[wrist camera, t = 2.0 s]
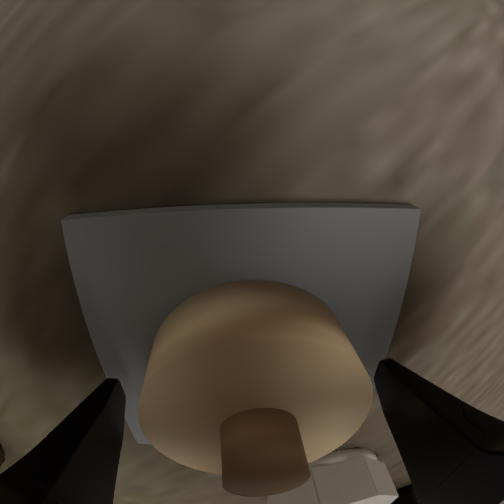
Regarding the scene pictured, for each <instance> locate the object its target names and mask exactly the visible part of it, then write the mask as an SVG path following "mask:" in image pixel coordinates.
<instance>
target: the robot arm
mask: <svg viewBox="0 0 504 504" xmlns="http://www.w3.org/2000/svg"><path fill="white" fill-rule="evenodd" d="M374 383H375V386H376V389H377V393H378V396H379V399H380V403H381V406H382V410H383V413H384V416H385V418H386V421H387V423H388V425H389V428H390V430H391V433H392V435H393V437H394V440H395V442H396V445H397V447H398V450H399V452H400V455H401V457H402V460H403V462H404V465H405V467H406V470H407V472H408V475H409V477H410V480H411V483H412V486H410V487H407V488H405V489H402V490H400V491H397V493H398V495H399V496H398V497H397V498H396V499H395V500H394V501H393V502H392V503H391V504H504V421H501V420H499V419H497V418H495V417H492V416H490V415H488V414H486V413H484V412H482V411H480V410H478V409H476V408H474V407H472V406H470V405H469V404H467V403H465V402H463V401H461V400H460V399H458V398H456V397H455V396H453V395H451V394H450V393H448V392H446V391H445V390H443V389H441V388H439V387H438V386H436V385H434V384H433V383H431V382H429V381H428V380H426V379H424V378H423V377H421V376H419V375H418V374H416V373H414V372H412V371H411V370H409V369H407V368H406V367H404V366H402V365H401V364H399V363H398V362H396V361H394V360H393V359H390V358H388V359H383V360H380V361H379V363H378V366H377V369H376V372H375V375H374ZM125 406H126V395H125V392H124V390H123V387H122V385H121V382H120V380H119V379H117V378H107V379H105V380H104V381H103V382H102V383H101V384H100V385H99V386H98V387H97V388H96V389H95V390H94V391H93V392H92V393H91V394H90V395H89V396H88V397H87V398H86V399H85V400H83V401H82V402H81V403H80V404H79V405H78V406H77V407H76V408H75V409H74V410H73V411H72V412H71V413H70V414H69V415H68V416H67V417H66V418H65V419H64V420H63V421H62V422H61V423H60V424H59V425H57V426H56V427H55V428H54V429H53V430H52V431H51V432H50V433H49V434H48V435H47V438H46V437H45V438H44V439H43V440H42V441H41V442H40V443H39V444H38V445H37V446H35V447H34V448H33V449H32V450H31V451H30V452H29V453H27V454H26V455H25V456H24V457H23V458H21V459H20V460H19V461H17V462H16V463H15V464H13V465H12V466H11V467H9V468H8V469H7V470H6V471H4V472H3V473H2V474H0V504H113V498H114V490H115V483H116V477H117V470H118V464H119V458H120V452H121V447H122V441H123V433H124V418H125Z"/></svg>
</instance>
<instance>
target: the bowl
mask: <svg viewBox="0 0 504 504" xmlns="http://www.w3.org/2000/svg"><path fill="white" fill-rule="evenodd" d="M308 465H309V469H310V473H311V476H310V478H309V480H308V481H307V482H306V483H304V484H303V485H301V486H300V487H298V488H295V489H293V490H291V491H288V492H284V493H281V494H276V495H270V496H267V499H266V504H391V503H392V502H393V501H394V500H395V499H396V498H397V497H398V496H399V495H398V493H397V491H396V488H395V486H394V484H393V481H392V479H391V477H390V474H389V472H388V470H387V468H386V465H385V463H383V462H380V461H378V458H377V456H376V454H375V452H373V451H372V450H369V449H363V448H354V449H345V450H339V451H334V452H330V453H329V454H327V455H325V456H323V457H321V458H319V459H317V460H315V461H313V462H311V463H308Z"/></svg>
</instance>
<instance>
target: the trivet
mask: <svg viewBox="0 0 504 504" xmlns="http://www.w3.org/2000/svg"><path fill="white" fill-rule="evenodd" d="M420 212H421V209H419V208H417V207H415V206H413V205H410V204H380V203H249V204H218V205H195V206H176V207H159V208H143V209H130V210H117V211H105V212H93V213H83V214H73V215H68V216H67V217H65V218H64V219H62V220H61V224H62V230H63V235H64V240H65V245H66V250H67V255H68V259H69V264H70V268H71V272H72V276H73V280H74V284H75V288H76V291H77V295H78V298H79V302H80V305H81V309H82V312H83V315H84V318H85V322H86V325H87V328H88V331H89V334H90V337H91V339H92V342H93V345H94V348H95V351H96V353H97V356H98V359H99V361H100V364H101V366H102V369H103V371H104V374H105V376H106V379H107V378H117V379H119V380H120V382H121V385H122V387H123V390H124V392H125V395H126V406H125V420H126V422H127V424H128V426H129V428H130V430H131V432H132V434H133V436H134V438H135V439H136V441H137V443H138V444H148V445H152V444H151V443H150V442H149V441H148V440H147V438H146V437H145V435H144V434H143V432H142V430H141V427H140V425H139V421H138V405H139V400H140V396H141V391H142V387H143V383H144V378H145V374H146V370H147V366H148V362H149V358H150V354H151V350H152V346H153V342H154V339H155V336H156V334H157V331H158V329H159V328H160V326H161V324H162V322H163V321H164V320H165V318H166V317H167V316H168V315H169V314H170V313H171V312H172V311H173V310H174V309H175V308H176V307H177V306H178V305H180V304H181V303H182V302H184V301H185V300H187V299H188V298H190V297H191V296H193V295H196V294H198V293H200V292H202V291H204V290H206V289H209V288H212V287H215V286H218V285H222V284H227V283H231V282H238V281H247V280H264V281H273V282H280V283H284V284H288V285H292V286H295V287H297V288H300V289H302V290H305V291H307V292H309V293H310V294H312V295H314V296H316V297H317V298H318V299H320V300H321V301H322V302H324V303H325V304H326V305H327V306H328V307H329V309H330V310H331V311H332V312H333V313H334V315H335V317H336V318H337V320H338V321H339V323H340V325H341V327H342V328H343V330H344V332H345V334H346V335H347V337H348V339H349V341H350V342H351V344H352V346H353V348H354V350H355V351H356V353H357V355H358V357H359V358H360V360H361V362H362V364H363V366H364V368H365V369H366V371H367V373H368V375H369V377H370V379H371V382H372V385H373V393H374V390H375V388H376V386H375V383H374V375H375V372H376V369H377V366H378V363H379V361H380V360H383V359H386V357H387V354H388V351H389V348H390V345H391V341H392V338H393V335H394V332H395V328H396V325H397V321H398V318H399V314H400V310H401V307H402V303H403V299H404V295H405V291H406V287H407V282H408V278H409V274H410V269H411V264H412V259H413V254H414V249H415V243H416V238H417V232H418V226H419V219H420Z"/></svg>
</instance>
